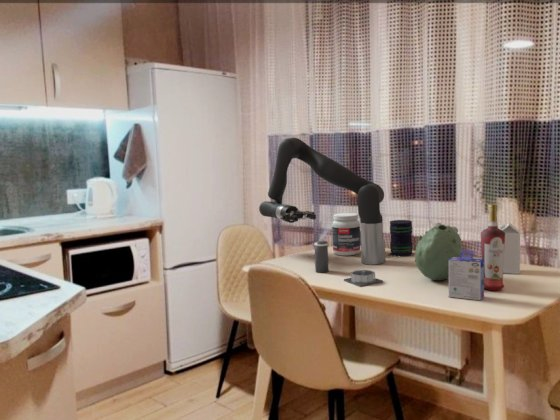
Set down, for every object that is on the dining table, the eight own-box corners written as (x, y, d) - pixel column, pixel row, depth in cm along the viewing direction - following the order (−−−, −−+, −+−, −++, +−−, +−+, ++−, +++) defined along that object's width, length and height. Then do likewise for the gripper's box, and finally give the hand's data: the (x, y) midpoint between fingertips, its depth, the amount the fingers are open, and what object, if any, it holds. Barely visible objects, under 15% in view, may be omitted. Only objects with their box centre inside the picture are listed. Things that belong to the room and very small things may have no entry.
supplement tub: (341, 257, 218) (339, 217, 215) (328, 252, 229) (326, 214, 227) (366, 254, 222) (364, 214, 220) (352, 249, 234) (350, 212, 232)
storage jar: (415, 252, 220) (415, 220, 218) (409, 257, 212) (408, 223, 210) (394, 251, 225) (393, 219, 224) (387, 255, 217) (386, 222, 215)
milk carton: (519, 269, 182) (519, 219, 180) (519, 274, 175) (520, 222, 173) (498, 268, 185) (498, 219, 183) (498, 273, 178) (498, 222, 176)
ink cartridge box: (484, 296, 152) (484, 251, 151) (481, 301, 148) (481, 254, 146) (452, 292, 158) (451, 249, 156) (448, 297, 153) (447, 252, 151)
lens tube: (324, 269, 198) (323, 240, 197) (331, 271, 193) (330, 242, 192) (312, 271, 196) (311, 241, 194) (319, 273, 191) (318, 243, 189)
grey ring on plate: (365, 276, 183) (365, 268, 183) (382, 282, 174) (382, 273, 174) (343, 280, 179) (343, 272, 178) (359, 286, 170) (359, 277, 169)
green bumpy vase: (405, 282, 173) (404, 226, 170) (430, 271, 186) (429, 219, 184) (448, 289, 162) (447, 230, 160) (471, 276, 175) (470, 222, 173)
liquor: (485, 292, 156) (485, 206, 153) (477, 286, 163) (477, 204, 160) (508, 291, 156) (509, 205, 152) (499, 285, 163) (499, 203, 160)
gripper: (272, 206, 212) (291, 210, 197) (300, 203, 218) (320, 207, 204) (273, 223, 213) (291, 228, 198) (301, 220, 219) (320, 225, 205)
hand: (306, 217), depth 201 cm, fingers open, 8 cm apart
